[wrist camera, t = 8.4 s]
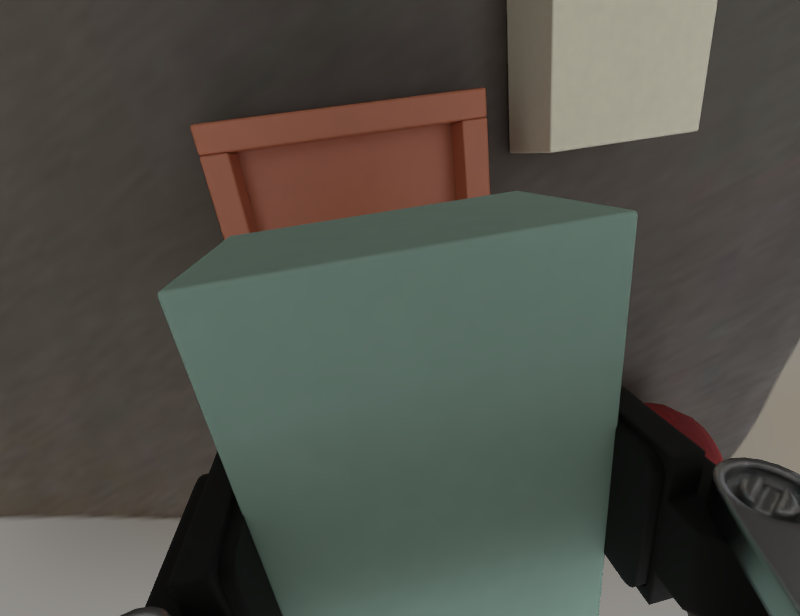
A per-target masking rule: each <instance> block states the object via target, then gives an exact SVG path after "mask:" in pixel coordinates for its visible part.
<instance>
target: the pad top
mask: <svg viewBox="0 0 800 616" xmlns="http://www.w3.org/2000/svg"><path fill="white" fill-rule="evenodd" d="M717 1H718V0H507V36H508V88H509V139H510V153H553V152H559V151H566V150H573V149H580V148H586V147H593V146H600V145H607V144H613V143H620V142H627V141H634V140H640V139H647V138H654V137H661V136H667V135H674V134H681V133H688V132H694V131H697V130H698V128H699V121H700V115H701V108H702V101H703V95H704V88H705V81H706V75H707V68H708V61H709V55H710V48H711V41H712V35H713V28H714V21H715V15H716V8H717Z"/></svg>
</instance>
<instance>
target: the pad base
mask: <svg viewBox="0 0 800 616" xmlns="http://www.w3.org/2000/svg"><path fill="white" fill-rule="evenodd" d="M637 217H638V214H637V212H636V211H634V210H629V209H623V208H618V207H612V206H606V205H600V204H594V203H588V202H582V201H576V200H570V199H564V198H558V197H552V196H546V195H540V194H534V193H528V192H522V191H512V192H506V193H499V194H493V195H487V196H480V197H474V198H468V199H461V200H455V201H449V202H442V203H436V204H430V205H423V206H417V207H411V208H404V209H398V210H392V211H385V212H379V213H373V214H366V215H360V216H354V217H348V218H341V219H335V220H329V221H322V222H316V223H310V224H303V225H297V226H291V227H284V228H278V229H272V230H265V231H259V232H253V233H246V234H240V235H234V236H230V237H228V238H227V239H225V240H224V241H223V242H222V243H220V244H219V245H218V246H216V247H215V248H214V249H213V250H211V251H210V252H209V253H208V254H206V255H205V256H204V257H202V258H201V259H200V260H199V261H197V262H196V263H195V264H194V265H192V266H191V267H190V268H188V269H187V270H186V271H185V272H183V273H182V274H181V275H179V276H178V277H177V278H176V279H174V280H173V281H172V282H171V283H169V284H168V285H167V286H165V287H164V288H163V289H162V290H160V291H159V292H158V299H159V301H160V304H161V306H162V309H163V312H164V314H165V317H166V319H167V322H168V324H169V327H170V330H171V332H172V335H173V337H174V340H175V342H176V345H177V348H178V350H179V353H180V355H181V358H182V360H183V363H184V366H185V368H186V371H187V373H188V376H189V378H190V381H191V384H192V386H193V389H194V391H195V394H196V396H197V399H198V402H199V404H200V407H201V409H202V412H203V414H204V417H205V420H206V422H207V425H208V427H209V430H210V433H211V435H212V438H213V440H214V443H215V445H216V448H217V451H218V453H219V456H220V458H221V461H222V463H223V466H224V469H225V471H226V474H227V476H228V479H229V481H230V484H231V487H232V489H233V492H234V494H235V497H236V499H237V502H238V505H239V507H240V510H241V512H242V515H244V518H245V520H246V523H247V525H248V528H249V530H250V533H251V536H252V538H253V541H254V543H255V546H256V549H257V551H258V554H259V556H260V559H261V561H262V564H263V567H264V569H265V572H266V574H267V577H268V580H269V582H270V585H271V587H272V590H273V592H274V595H275V598H276V600H277V603H278V605H279V608H280V611H281V613H282V616H599V607H600V597H601V586H602V576H603V566H604V556H605V554H604V545H605V534H606V524H607V513H608V503H609V492H610V482H611V472H612V461H613V451H614V440H615V430H616V427H617V422H618V412H619V402H620V392H621V381H622V371H623V361H624V351H625V340H626V330H627V320H628V310H629V299H630V289H631V279H632V269H633V258H634V248H635V238H636V228H637Z"/></svg>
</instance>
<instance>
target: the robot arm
mask: <svg viewBox="0 0 800 616" xmlns="http://www.w3.org/2000/svg"><path fill="white" fill-rule="evenodd" d="M705 453H706V451H705V450H703V449H702V448H701V447H700V446H698V445H697V444H696V443H694V442H693V441H692V440H691V439H689V438H688V437H687V436H685V435H684V434H683V433H681V432H680V431H679V430H678V429H676V428H675V427H674V426H672V425H671V424H670V423H669V422H667V421H666V420H665V419H663V418H662V417H661V416H660V415H658V414H657V413H656V412H654V411H653V410H652V409H651V408H649V407H648V406H647V405H645V404H644V403H643V402H642V401H640V400H639V399H638V398H636V397H635V396H634V395H632V394H631V393H630V392H629V391H627V390H626V389H625V388H623V387H622V386H621V392H620V402H619V412H618V422H617V427H616V430H615V440H614V451H613V461H612V472H611V482H610V492H609V503H608V513H607V524H606V534H605V545H604V554H605V555H606V556H607V558H608V559H609V561H610V562H611V564H612V565H613V566H614V568H615V569H616V571H617V572H618V574H619V575H620V576H621V578H622V579H623V580H624V582H625V583H626V584H627V585H628V586H630V587H635V586H636V587H637V588H638V590H639V591H640V593H641V594H642V596H643V597H644V598H645V600H646V601H647V602H648V604H649V605H650V604H653V603H656V602H660V601H663V600H667V599H670V598H674V599H675V600H676V601H677V603H678V604H679V605H680V607H681V608H682V609H683V610H685V611H687V613H688V616H800V475H799V474H798V473H796V472H794V471H791V470H789V469H787V468H784V467H782V466H780V465H777V464H773V463H770V462H767V461H763V460H759V459H750V458H730V459H727V460H724V461H721V462H719V463H718V464H717V465H716V464H714V463H713V462H712V461H711V460H709V459H708V458H707V457H706V456H705ZM121 616H282V613H281V611H280V608H279V605H278V603H277V600H276V598H275V595H274V592H273V590H272V587H271V585H270V582H269V580H268V577H267V574H266V572H265V569H264V567H263V564H262V561H261V559H260V556H259V554H258V551H257V549H256V546H255V543H254V541H253V538H252V536H251V533H250V530H249V528H248V525H247V523H246V520H245V518H244V515H242V512H241V510H240V507H239V505H238V502H237V499H236V497H235V494H234V492H233V489H232V487H231V484H230V481H229V479H228V476H227V474H226V471H225V469H224V466H223V463H222V461H221V458H220V456H219V453H218V451H217V454H216V456H215V459H214V462H213V464H212V467H211V469H210V472H209V473H208V474H204V475H202V476H201V477H199V478H198V480H197V482H196V484H195V486H194V489H193V491H192V493H191V496H190V498H189V501H188V503H187V506H186V508H185V511H184V513H183V515H182V518H181V520H180V523H179V525H178V528H177V530H176V533H175V535H174V537H173V540H172V542H171V545H170V547H169V550H168V552H167V555H166V557H165V560H164V562H163V565H162V567H161V569H160V572H159V574H158V577H157V579H156V581H155V584H154V587H153V589H152V591H151V594H150V596H149V599H148V601H147V603H146V606H145V607H144V608H138V609H134V610H132V611H130V612H128V613H125V614H123V615H121Z"/></svg>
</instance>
